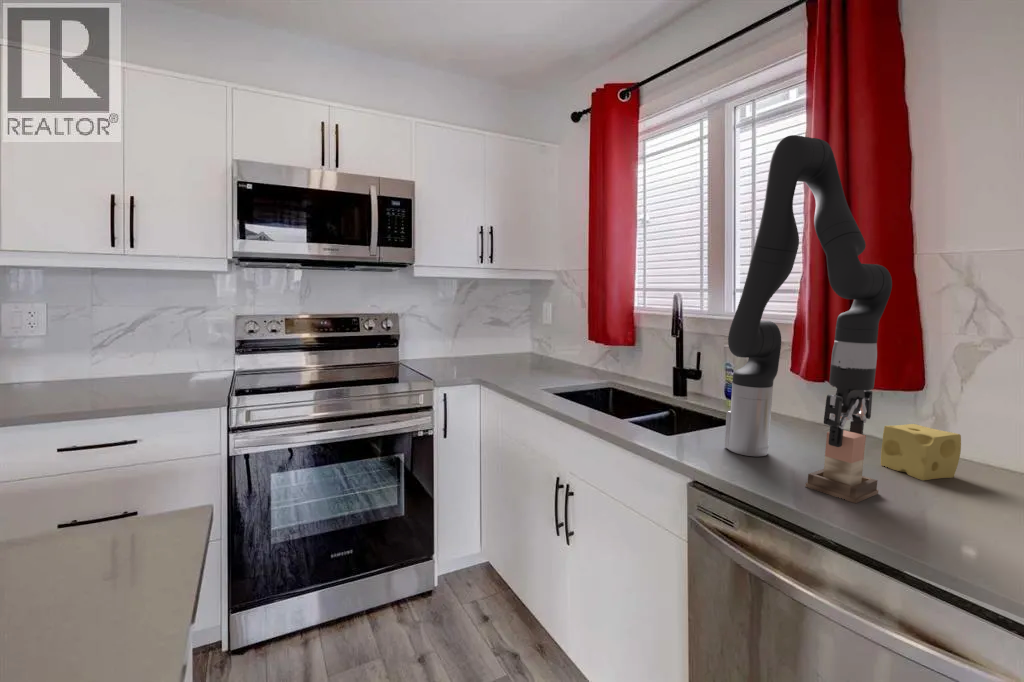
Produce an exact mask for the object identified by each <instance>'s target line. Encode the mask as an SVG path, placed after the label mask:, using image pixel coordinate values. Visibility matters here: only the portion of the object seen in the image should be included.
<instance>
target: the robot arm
mask: <svg viewBox="0 0 1024 682" xmlns="http://www.w3.org/2000/svg"><path fill="white" fill-rule="evenodd" d="M798 182H800V183H802V182H803V183H805V184H806V185H807V187H808V188H809V189H810V191H811V193H812V194H813V196H814V200H815V210H814V217H813V225H814V230H815V234H816V236H817V239H818V240H819V244H820V245H821V248H822V249H823V252H824V253H825V256H826V267H827V276H828V282H829V286H830V287H831V289H832V291H833V292H834V293H835V294H836V295H837V296H839V297H840V298H842V299H845V300H853V301H852V304H851V305H850V306H851V307H850V309H849V310H847V311H845V312H844V311H843V312H841V313H840V314H838V316H837V319H836V324H835V330H834V331H835V333H834V343H833V347H832V352H831V360H830V371H829V380H828V381H829V385H830V386H831V387H833V388H835V389H836V392H835V395H834V394H826V399H825V407H824V415H823V424H824V425H827V426H828V427H829V431H828V432H829V445H831V446H835V447H841V446H842V440H843V430H845V429H844V427H845V425H846V422H847V421H849V420H850V423H849V424H850V425H849V432H854V433H858V434H862V435H864V426H865V424H866V423H867V420H870V419H871V416H872V405H873V404H872V403H873V391H872V390H873V389H874V387H875V380H876V371H877V360H878V337H879V325H880V320H881V318H882V316H883V314H884V312H885V309H886V306H887V305H888V301H889V300H890V296H891V292H892V288H893V280H892V278H893V277H892V276H891V273H890V272H889V269H887V267H885V266H884V265H880V264H878V263H876V264H875V263H862V262H861V261H860V259H859V256H860V255H861V254H862V253H863V252H865V249H866V246H867V245H866V241H865V238H864V236H863V234H862V231H861V230H860V228H859V225H858V224H857V221H856V219H855V218H854V216H853V214H852V211H851V209H850V207H849V205H848V202H847V199H846V196H845V192H844V191H845V190H844V189H843V184H842V181H841V178H840V174H839V170H838V165H837V161H836V158H835V153H834V152H833V149H832V147H831V145H830V144H829V143H828V142H827V141H825V140H823V139H821V138H816V137H809V136H803V135H793V134H791V135H787V136H785V137H783V138H782V139H781V140H780V141H779V142H778V143H777V145H776V146H775V147H774V150H773V152H772V155H771V159H770V163H769V168H768V174H767V182H766V189H765V195H764V196H765V198H764V202H763V207H762V211H761V217H760V222H759V225H758V230H757V235H756V238H755V241H754V245H753V248H752V253H751V257H750V260H749V261H750V262H749V267H748V271H747V274H746V277H745V281H744V286H743V289H742V293H741V295H740V300H739V302H738V305H737V308H736V311H735V312H734V313H735V314H734V315H733V318H732V321H731V324H730V328H729V332H728V335H727V338H728V339H727V344H728V348H729V351H730V353H731V354H732V355H733V356H734V357H737V358H747V359H748V360H747V361H746V363H745V364H744V365H743V366H742V367H740V368H738V369H736V370H734V372H733V374H732V380H731V381H732V386H731V397H730V398H731V399H730V410H728V411H726V419H725V431H724V432H725V433H724V449H728V450H729V451H730V452H732V453H734V454H736V455H737V454H738V455H742V456H748V457H765V456H767V455H768V452H769V443H770V442H769V441H770V430H771V417H772V416H771V415H772V405H773V404H772V403H773V391H774V389H773V388H774V381H775V378H776V377H777V375H778V373H779V371H778V370H779V365H780V358H781V351H782V350H781V349H782V333H781V330H780V328H779V327H778V325H777V324H776V323H775V322H773V321H771V320H764V319H763V320H762V317H763V314H764V312H765V308H766V306H767V304H768V302H770V300H771V299H772V297H773V296H774V295H775V294H776V292H777V291H778V290H779V288H781V286H782V285H783V284H784V283H785V281H786V280H787V279H788V278H789V276H790V275H791V273H792V271H793V269H794V264H795V260H796V258H797V253H798V249H799V247H800V246H799V245H800V235H799V230H798V226H797V222H796V218H795V214H794V207H793V205H794V197H795V191H796V188H797V183H798Z"/></svg>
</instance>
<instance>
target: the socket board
mask: <svg viewBox="0 0 1024 682" xmlns="http://www.w3.org/2000/svg"><path fill="white" fill-rule="evenodd" d="M823 474H824V468H822V469H820V470H816V471H814V472H810V473H808V475H807V482H805V487H806V488H808V489H811V490H813V491H816V492H817V491H818V492H820V493H824V494H826V495H829V496H832V497H835V498H838V497H839V499H841V498H842V499H841V500H844V499H845V500H844V501H848V502H850V503H853V504H857V503H860V502H863V501H864V500H867V499H870V498H871V497H875V496H877V495H878V494H879V489H878V479H875V478H872V477H868V476H865V475H862V482H861V483H860V484H857V485H854V486H851V485H848V484H845V483H842V482H838V481H835V480H832V479H829V478H825V477H823Z"/></svg>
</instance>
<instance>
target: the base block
mask: <svg viewBox="0 0 1024 682" xmlns="http://www.w3.org/2000/svg"><path fill="white" fill-rule="evenodd" d="M864 459H865V458H864ZM864 459H863V460H860V461H857V462H854V463H848V462H845V461H841V460H838V459H834V458H830V457H827V456H825V455H824V464H823V465H824V466H823V469H824V474H823V477H825V478H829V479H832V480H835V481H838V482H842V483H845V484H848V485H851V486H854V485H857V484H860V483H861V482H862V476H863V471H864V469H863V468H864V461H865V460H864Z"/></svg>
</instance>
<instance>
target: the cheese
mask: <svg viewBox="0 0 1024 682" xmlns="http://www.w3.org/2000/svg"><path fill="white" fill-rule="evenodd" d="M881 441H882V443H881V450H880V451H881V452H880V465H881V466H882V467H884V466H885V467H884V468H887V467H888V468H887V469H891V470H893V471H897V472H901V473H906V474H907V475H908V476H909V477H912V478H915V479H918V480H920V481H928V480H936V479H948V478H949V479H952V478H955V474H956V472H957V469H958V464H959V462H960V457H961V451H962V435H961V434H960V433H956V432H952V431H951V432H950V431H946V430H941V429H935V428H932V427H927V426H924V425H919V424H916V423H908V424H898V425H896V424H895V425H884V428H883V432H882V440H881Z"/></svg>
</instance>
